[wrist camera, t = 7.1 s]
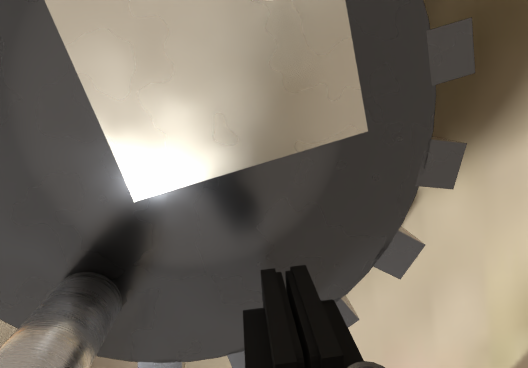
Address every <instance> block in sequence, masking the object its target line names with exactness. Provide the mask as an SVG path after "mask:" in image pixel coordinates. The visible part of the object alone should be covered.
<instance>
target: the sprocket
mask: <svg viewBox="0 0 528 368" xmlns="http://www.w3.org/2000/svg"><path fill="white" fill-rule="evenodd" d="M473 73H475V62H474V46H473V29H472V18H468V19H465V20H461V21H458V22H455V23H451V24H448V25H445V26H441V27H438V28H435V29H431V30H430V25H429V19H428V16H427V12H426V9H425V5H424V2H423V0H0V319H1V320H2V321H4V322H6V323H8V324H10V325H12V326H14V327H16V328H18V329H17V330H16V332H15V333H14V334H13V335H12V336H11V337H10V338H9V339H8V340H7V341H6V342H5V344H4V345H3V346H2V347H1V348H0V368H90V367H91V365H92V363H93V361H94V359H95V357H96V356H98V357H105V358H111V359H117V360H124V361H132V362H138V368H184V367H185V362H191V361H198V360H205V359H212V358H218V357H223V356H228V358H229V361H230V363H231V365H232V368H245V353H244V329H243V310H249V309H257V308H263V300H262V288H261V275H260V270H263V269H272V268H275V270H276V272H281V273H282V276H283V280H284V284H285V288H286V279H285V271H290V267H291V266H299V265H306V267H307V269H308V272H309V274H310V276H311V279H312V281H313V284H314V286H315V288H316V291H317V293H318V295H319V298H320V300H321V301H322V300H331V299H333V300H334V301H335V303H336V305H337V307H338V309H339V311H340V313H341V315H342V317H343V319H344V321H345V323H346V325H347V327H350V326H351V325H352V324H354V323H355V322H357V321H358V320H359V318H358V316H357V314H356V313H355V311H354V309H353V307H352V306H351V304H350V302H349V300H348V299H347V297H346V294H347V293H348V292H349V291H350V290H351V289H352V288H353V287H354V286H355V285H356V284H357V283H358V282H359V281H360V280H361V279H362V278H363V277H364V276H365V275H366V274H367V273H368V272H369V271H370V270H371V268H372V267H373V266H374V267H376V268H378V269H380V270H382V271H384V272H386V273H388V274H390V275H392V276H394V277H396V278H398V279H401V278H402V276H403V275H404V274H405V272H406V271H407V270H408V268H409V267H410V265H411V264H412V263H413V261H414V260H415V259H416V257H417V256H418V255H419V253H420V252H421V250H422V249H423V248H424V246H425V244H424V243H422V242H421V241H420V240H419V239H417V238H416V237H415V236H413V235H412V234H411V233H409V232H408V231H407V230H406V229H404V228H403V227H402V226H401V225H402V223H403V221H404V219H405V217H406V215H407V213H408V211H409V208H410V206H411V204H412V202H413V200H414V198H415V196H416V193H417V190H418V187H419V186H422V187H434V188H445V189H453V188H454V185H455V182H456V178H457V175H458V172H459V168H460V165H461V161H462V158H463V155H464V151H465V148H466V145H467V143H462V142H457V141H452V140H447V139H442V138H437V137H432V133H433V126H434V114H435V102H436V85H437V84H440V83H443V82H447V81H450V80H453V79H457V78H460V77H463V76H467V75H470V74H473Z"/></svg>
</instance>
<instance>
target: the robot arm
mask: <svg viewBox="0 0 528 368" xmlns="http://www.w3.org/2000/svg"><path fill="white" fill-rule="evenodd" d="M260 275H261V288H262V300H263V308H257V309H249V310H243V329H244V353H245V368H385V367H383V366H381V365H379V364H376V363H374V362H367V361H364V360H363V358H362V356H361V354H360V352H359V350H358V348H357V346H356V344H355V342H354V340H353V338H352V336H351V334H350V332H349V329H348V327H347V325H346V323H345V321H344V319H343V317H342V315H341V313H340V311H339V309H338V307H337V305H336V303H335V301H334V300H333V299H331V300H322V301H321V300H320V298H319V295H318V293H317V291H316V288H315V286H314V284H313V281H312V279H311V276H310V274H309V272H308V269H307V267H306V265H299V266H291V267H290V271H285V279H286V288H285V284H284V280H283V276H282V273H281V272H276V270H275V268H272V269H263V270H260Z"/></svg>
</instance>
